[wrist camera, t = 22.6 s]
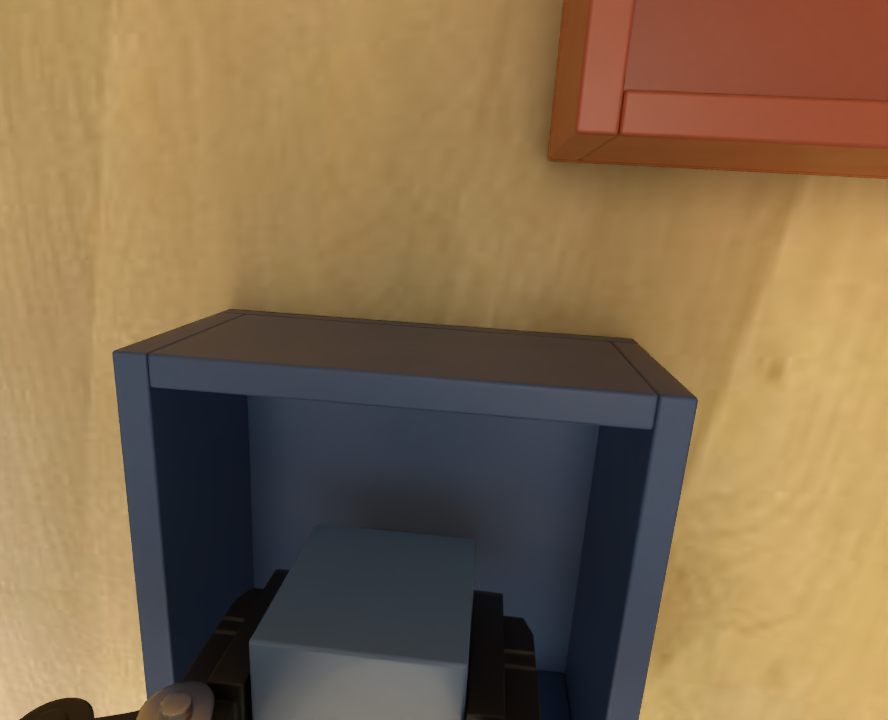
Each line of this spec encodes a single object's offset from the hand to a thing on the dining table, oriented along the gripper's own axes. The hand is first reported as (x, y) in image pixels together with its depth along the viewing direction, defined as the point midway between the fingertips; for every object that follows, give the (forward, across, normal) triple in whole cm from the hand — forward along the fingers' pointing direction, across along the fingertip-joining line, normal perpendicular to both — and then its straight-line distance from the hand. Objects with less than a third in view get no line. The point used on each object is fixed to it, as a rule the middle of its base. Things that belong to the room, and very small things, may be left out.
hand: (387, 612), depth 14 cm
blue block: (+1, 0, 0) cm, 1 cm away
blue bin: (+5, 0, 0) cm, 5 cm away
